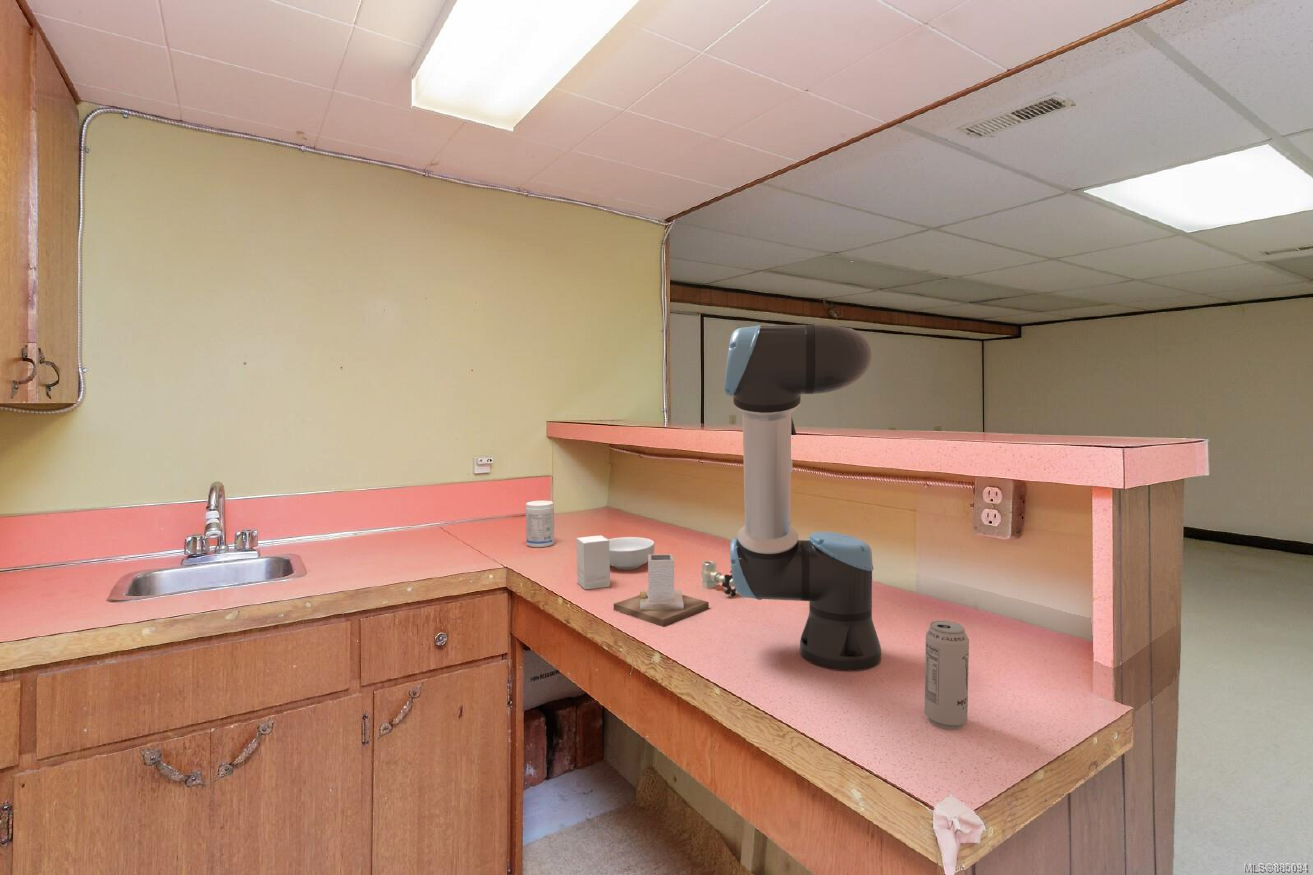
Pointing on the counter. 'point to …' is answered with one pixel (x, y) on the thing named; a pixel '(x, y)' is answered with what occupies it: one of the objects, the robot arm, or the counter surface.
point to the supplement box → (593, 562)
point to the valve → (716, 578)
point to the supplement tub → (540, 523)
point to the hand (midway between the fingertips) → (772, 474)
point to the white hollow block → (661, 585)
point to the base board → (660, 616)
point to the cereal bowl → (629, 552)
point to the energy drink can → (946, 674)
